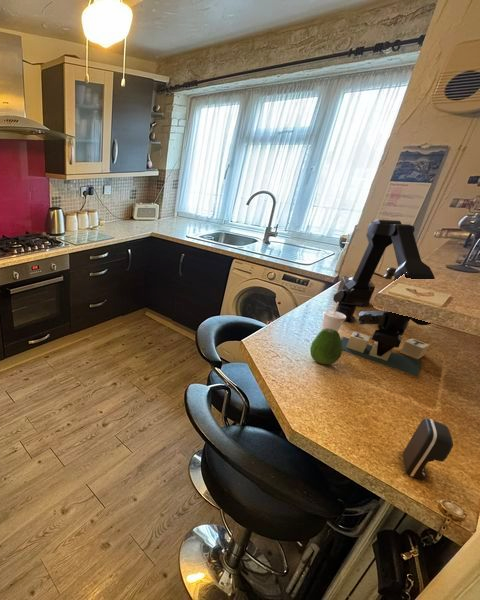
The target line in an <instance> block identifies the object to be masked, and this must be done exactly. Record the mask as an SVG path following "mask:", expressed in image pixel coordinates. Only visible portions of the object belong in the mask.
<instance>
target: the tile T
mask: <svg viewBox="0 0 480 600" xmlns="http://www.w3.org/2000/svg"><path fill="white" fill-rule="evenodd" d="M429 347H430V344H428V343H426V342H423V341H420V340H417V339H414V338H409V339H407V340H405V341H404V343H403V344H402V347H401V349H400V351H399V354H400V353H401V354H403V355H404V356H407V357H409V358H412V359H415V360H419V359H421V358H422V357H424V356H425V354H426V352H427V351H428V348H429Z"/></svg>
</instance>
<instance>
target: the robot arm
mask: <svg viewBox="0 0 480 600" xmlns="http://www.w3.org/2000/svg"><path fill="white" fill-rule="evenodd" d="M414 233H415V226H414V225H412V224H408V223H407V224H406V223H402V222H401V221H400V220H396V219H395V220H393V219H375V220H374V221H371V222H370V223H369V224H368V226H367V232H366V240H367V242H368V244H367V247H366V249H365V251H364V253H363V255H362V257H361V260H360V262H359V264H358V266H357V268H356V271H355V273H354V276H353V277H354V278H353V279H352V280H351V281H349V282H348V283H346V284H345V285H344V287H343V288H342V290H341V291H339V292H338V293H337V292H336V293H335V294H334V295H333V300H332V301H334V303H335V304H337V302H339V305H338V307H337V310H336V311H337V312H340V313H342V314H344V315H345V316H346V320H345V321H344V322H347V323H352V322H353V320H354V319H355V316H354V315H355V312H356V309H357V307H359V308H364V307H365V306H364V305H365V304H366V303H367V301H368V300H369V298H370V295H371V294H372V291H371V290H370V287H369V282H370V280H371V281H372V278H373V276H374V272H375V271H376V270H377V267H378V266H379V264H380V262H381V259H382V257H383V255H384V253H385V251H386V249H387V248H388V247H390V246H391V245H392V246H393V251H394V254H395V258H396V263H397V268H396V269H397V270H396V271H395V273H394V276H393V277H394V279H393V282H394V281H395V280H396V279H398V278H399V277H400V276H402V275H403V274H405V277H406V278H411V279H435V280H436V277H435V275H434V273H433V271H432V269H431V267H430V265H427V264H426V263H425V262H423V260H422V258H421V255H420V251H419V247H418V244H417V241H416V238H415V234H414ZM406 272H407V273H406ZM375 273H376V272H375ZM372 295H373V294H372ZM357 321H358V323H359V325H362V326H363V325H377V328H378V329H375V331H374V332H373V335H372V336H371V341H373V342H375V341H376V342H378V347H377V355H378V356H382V355H384V354H385V353H386V352H388V351H389V350H391V349H392V348H393V349H394V348H399V347H400V345H401V343H402V341H403V337H402V336H403V335H404V333H405V331H406V329H407V327H408V325H409V322H410V321H412V322H413V323H414V324H416V325H420V326H429V325H432V324H431V323H428V322H425V321H422V320H418V319H415V318H412V317H408V316H403V315H399V314H396V313H392V312H388V311H385V310H384V311H383V310H381V311H380V310H362V311H360V312H359V313H358V320H357Z"/></svg>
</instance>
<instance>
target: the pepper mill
mask: <svg viewBox="0 0 480 600" xmlns="http://www.w3.org/2000/svg"><path fill="white" fill-rule="evenodd" d="M397 269H398V268H396V267H388V268H386V273H385V274H384V275H382V274H380V273H378V272H374V274H373V276H376V277H380V278H382V279H385V280H393V277H394V273H395V271H396V270H397ZM353 278H354V276H347V275H342V277H341V280H340V282H339V285H338V286H337V290H336V293H338V292H339V291H341V290H342V288H343V287H344V285H345V284H346V283H348V282H349V281H351V280H352V279H353ZM369 287H370V290H371V291H372V294H371V295H370V298H369V300H368V301H367V303H366V304H365V305H364V307H366V308H367V307H369V304H370V301H371V298H372V297H373V294H374V291H375V289H376V286H375V284H374V282H373V281H372V279H371V280H370V282H369Z"/></svg>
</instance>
